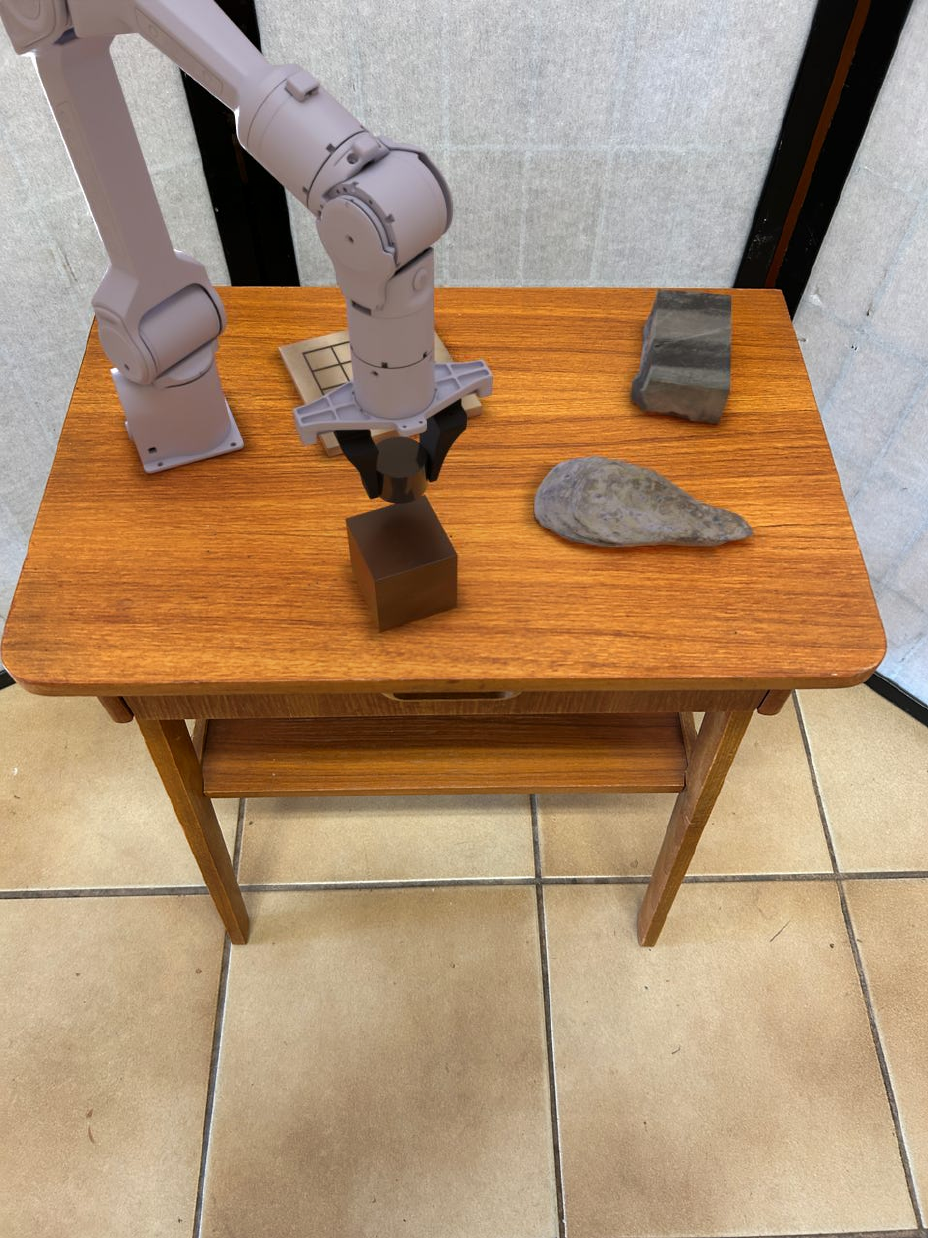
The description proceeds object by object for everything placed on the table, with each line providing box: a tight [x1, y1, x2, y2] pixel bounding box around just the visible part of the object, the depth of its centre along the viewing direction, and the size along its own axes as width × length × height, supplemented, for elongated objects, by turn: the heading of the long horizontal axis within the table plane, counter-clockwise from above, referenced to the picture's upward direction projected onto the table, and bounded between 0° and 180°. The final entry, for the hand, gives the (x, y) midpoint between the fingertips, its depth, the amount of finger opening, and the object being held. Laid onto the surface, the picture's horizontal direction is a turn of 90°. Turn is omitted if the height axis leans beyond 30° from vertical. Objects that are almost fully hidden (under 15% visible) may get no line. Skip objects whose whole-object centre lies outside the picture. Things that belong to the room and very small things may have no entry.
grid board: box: [278, 329, 483, 458], centre depth 96 cm, size 16×16×1 cm
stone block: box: [630, 288, 733, 425], centre depth 97 cm, size 9×14×5 cm, turn 170°
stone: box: [533, 455, 755, 548], centre depth 86 cm, size 20×4×10 cm
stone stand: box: [345, 494, 459, 633], centre depth 79 cm, size 7×7×7 cm
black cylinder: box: [375, 436, 429, 504], centre depth 74 cm, size 4×4×3 cm
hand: (399, 481), depth 75 cm, fingers closed on black cylinder, 4 cm apart
